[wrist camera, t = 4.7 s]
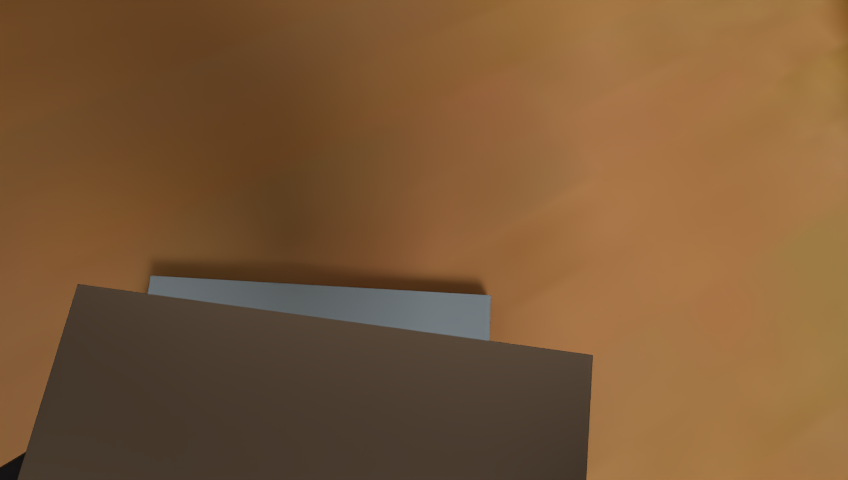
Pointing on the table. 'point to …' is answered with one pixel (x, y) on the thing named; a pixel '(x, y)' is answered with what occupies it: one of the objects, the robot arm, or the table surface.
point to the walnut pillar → (297, 399)
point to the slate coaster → (343, 303)
